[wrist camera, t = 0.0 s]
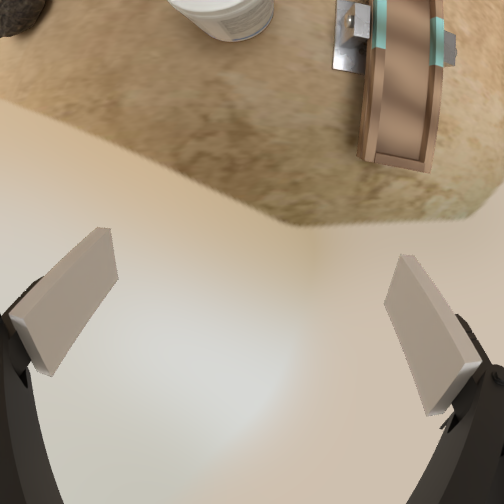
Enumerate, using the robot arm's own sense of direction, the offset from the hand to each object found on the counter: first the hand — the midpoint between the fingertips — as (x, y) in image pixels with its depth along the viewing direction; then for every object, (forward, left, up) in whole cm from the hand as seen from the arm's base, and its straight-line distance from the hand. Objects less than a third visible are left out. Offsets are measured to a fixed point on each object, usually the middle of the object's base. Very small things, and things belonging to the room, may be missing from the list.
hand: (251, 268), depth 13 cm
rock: (-27, -39, -28) cm, 56 cm away
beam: (-17, +14, -26) cm, 34 cm away
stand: (-17, +14, -28) cm, 36 cm away
